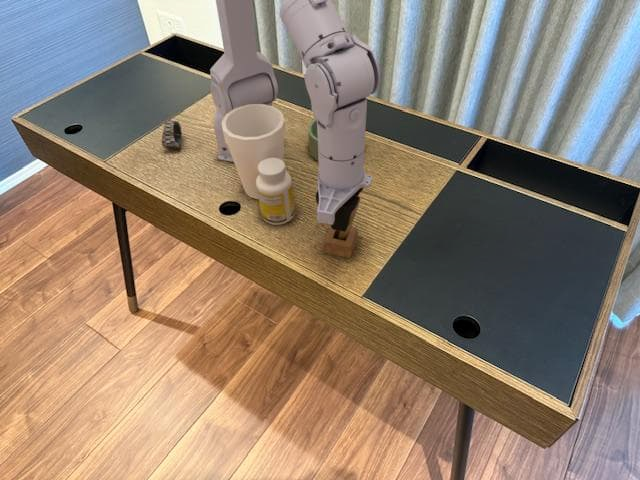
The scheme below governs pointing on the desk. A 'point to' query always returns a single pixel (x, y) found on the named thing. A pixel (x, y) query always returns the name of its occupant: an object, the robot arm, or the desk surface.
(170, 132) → the wristwatch
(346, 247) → the stand
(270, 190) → the supplement bottle
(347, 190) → the robot arm
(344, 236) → the stick
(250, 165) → the foam cup
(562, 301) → the desk surface
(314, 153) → the bowl
